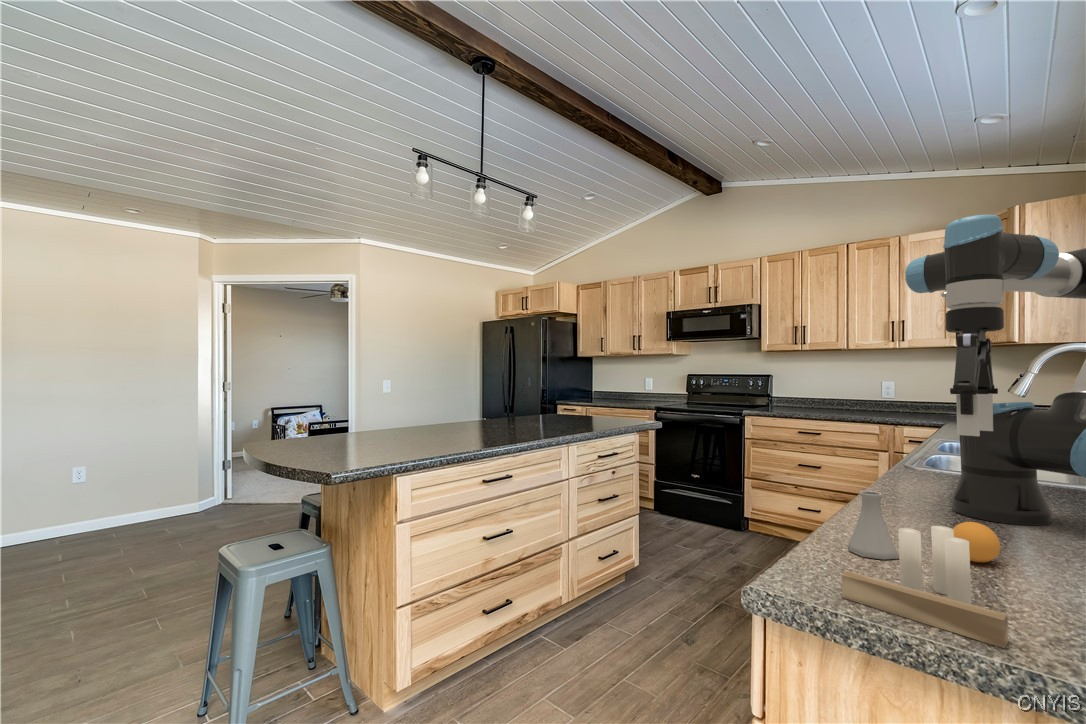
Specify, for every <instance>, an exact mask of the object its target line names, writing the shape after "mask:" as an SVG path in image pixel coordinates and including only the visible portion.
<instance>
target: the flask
mask: <svg viewBox="0 0 1086 724" xmlns="http://www.w3.org/2000/svg"><path fill="white" fill-rule="evenodd" d="M859 495H860V497H861V507H860V512H859V513H860V514H859V516H858V519H857V521H856V524H855V528H854V530H853V532H852V535H851V536H850V538H849V539H850V540H849V541H848V546H847V548H848V551H849V552H851V553H854V554H856V555H857V556H860V557H863V558H869V559H876V560H895V559H896V560H898V559H899V560H900V558H899V554H898V551H897V548H896V545H895V544H894V541H893V539H892V537H891V535H890V532H889V529H888V527H887V524H886V522H885V519H884V515H883V511H882V507H881V499H882V498H883V493H882V492H879V491H875V490H860V491H859Z"/></svg>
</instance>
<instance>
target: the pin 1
mask: <svg viewBox="0 0 1086 724" xmlns="http://www.w3.org/2000/svg"><path fill="white" fill-rule="evenodd" d="M921 535H922V533H921V531H920V530H918V529H914V528H908V527H899V528H898V550H899V551H898V552H899V554H898V556H899V581H900V582H899V583H900V584H899V585H901V586H905V587H908V588H912V589H916V590H919V591H923V590H924V589H923V564H922V559H923V558H922V557H923V556H922V537H921ZM923 592H924V591H923Z"/></svg>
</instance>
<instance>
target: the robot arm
mask: <svg viewBox="0 0 1086 724" xmlns="http://www.w3.org/2000/svg"><path fill="white" fill-rule="evenodd" d="M942 247H943V249H944V250H943V251H942V252H938V253H933V254H926V255H924V256H922V257H917V258H915V259H913V260H911V261H910V262H909V263H908V264H907V266H906V268H905V270H904V274H905V275H904V276H905V282H906V285H907V287H908V288H909V289H910V290H911V291H913V293H917V294H928V293H929V294H931V293H932V294H933V293H935V292H939V291H941V295H940V296H941V297H942V298H945V307H946V308H947V309H949V310H947V311H946V312H945V330H946V332H948V333H953V334H955V333H956V334H957V335H956V355H955V369H954V379H953V381H954V382H953V386H952V387H951V388H949V393H950V395H955V397H956V399H955V400H956V401H955V403H956V435H957V436H959V451H960V453H959V454H960V455H959V456H960V470H961V471H960V476H959V479H958V481H957V484H956V487H955V489H954V492H953V495H952V497H951V509H952V510H953V512H955V513H957V514H961V515H962V516H963V515H964V516H967V517H971V518H974V519H978V520H984V521H990V522H996V523H1002V524H1012V525H1024V526H1025V525H1026V526H1028V525H1029V526H1039V525H1048V524H1051V523H1052V510H1051V508H1050V505H1049V503H1048V501H1047V498H1045V495H1044V493H1043V490H1042V489H1041V487H1040V484H1039V482H1038V472H1037V471H1044V472H1049V473H1050V472H1051V473H1056V474H1063V475H1070V476H1076V477H1083V478H1085V479H1086V358H1085V360H1084V361H1083V364H1082V366H1081V368H1080V370H1079V372H1078V374H1077V376H1076V378H1075V380H1074V383H1073V385H1072V387H1071V389H1070V390H1068V391H1064V392H1060V393H1058V394H1057V395H1056V396H1055V397H1054V399H1053V401H1052V404H1051V405H1050V407H1049V408H1048V409H1037V408H1036V406H1035V404H1034V402H1032V401H1018V402H1017V401H1014V402H1013V401H1012V402H1010V401H1009V402H997V403H995V402H994V403H993V398H994V397H993V395H998V394H999V393H998V392H999V388H995V385H994V375H993V366H992V365H993V364H992V354H991V352H992V347H993V346H992V341H991V339H990V338H988V337H987V336H986V333H987V332H996V331H997V332H998V331H1002V330H1003V329H1004V327H1005V322H1004V321H1005V316H1004V311H1005V310H1004V309H1003V308H1002V307H1000V306H1001V305H1003V304H1004V303H1005V294H1004V293H1005V292H1015V293H1016V292H1017V293H1019V292H1021V293H1022V292H1025V293H1026V292H1027V293H1035V294H1036V295H1039V296H1041V297H1045V298H1046V297H1047V298H1060V299H1061V298H1064V299H1065V298H1067V299H1082V300H1083V299H1084V300H1086V247H1085V248H1081V249H1077V250H1072V251H1066V252H1062V251H1061V252H1059V248H1058V246H1057V245H1056V243H1055V242H1054V241H1052V240H1051V239H1049V238H1046V237H1041V236H1038V235H1035V234H1033V235H1032V234H1020V233H1019V234H1018V233H1009V232H1008V233H1007V232H1004V227H1003V223H1002V219H1001V218H1000V216H998V215H996V214H977V215H970V216H965V217H962V218H959V219H956V220H952V221H951V222H950V223H948V224H947V225H946V227H945V229H944V243H943V246H942Z"/></svg>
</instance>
